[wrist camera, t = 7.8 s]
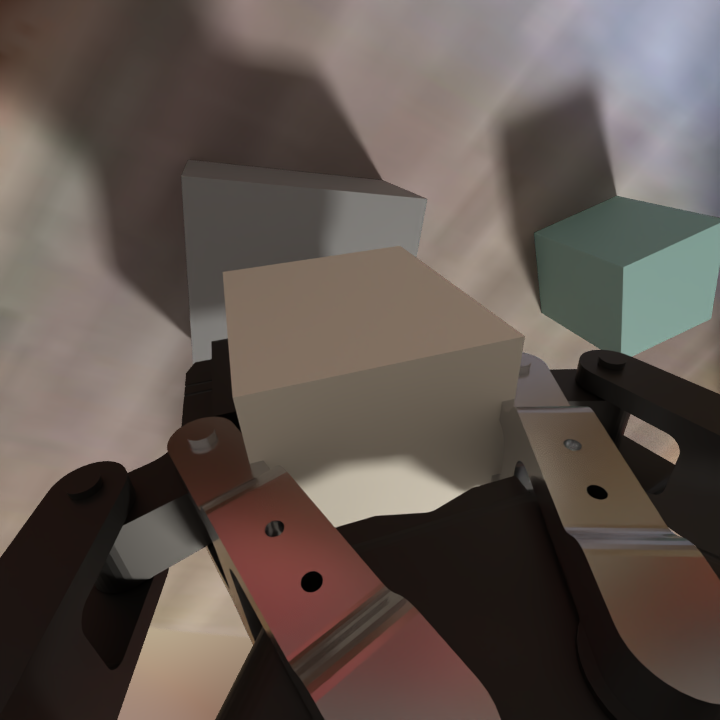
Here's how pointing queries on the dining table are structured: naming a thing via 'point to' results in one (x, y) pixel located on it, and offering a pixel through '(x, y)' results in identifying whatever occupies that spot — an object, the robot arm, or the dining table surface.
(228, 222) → the slate base block
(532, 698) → the robot arm
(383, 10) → the dining table surface
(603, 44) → the dining table surface
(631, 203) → the teal block
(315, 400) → the cream block
